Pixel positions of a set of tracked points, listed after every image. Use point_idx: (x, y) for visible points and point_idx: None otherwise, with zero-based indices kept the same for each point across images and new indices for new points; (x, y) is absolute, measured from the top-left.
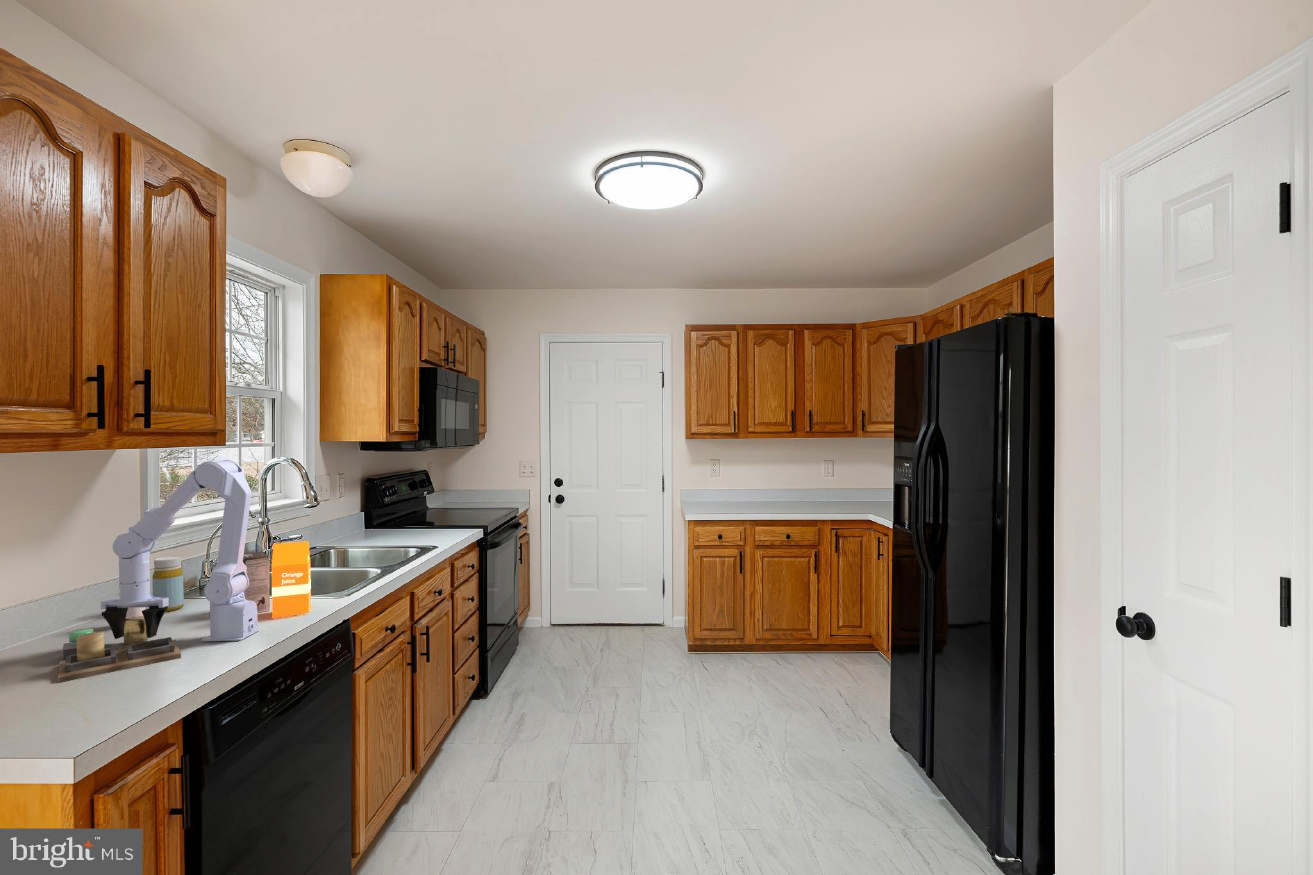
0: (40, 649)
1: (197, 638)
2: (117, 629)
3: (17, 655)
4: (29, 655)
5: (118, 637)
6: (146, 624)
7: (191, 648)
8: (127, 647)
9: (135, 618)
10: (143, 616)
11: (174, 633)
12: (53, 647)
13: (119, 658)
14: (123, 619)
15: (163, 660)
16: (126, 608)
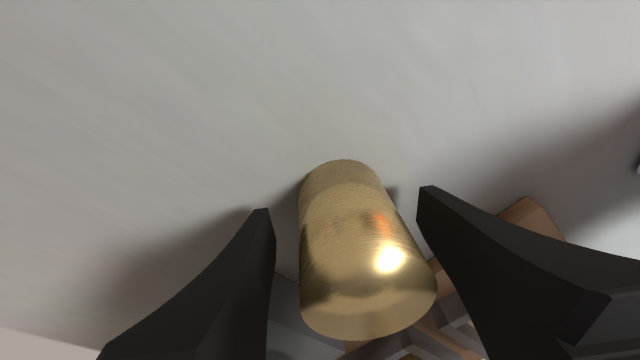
0: (7, 284)
1: (602, 124)
2: (269, 274)
3: (27, 325)
4: (73, 321)
5: (273, 237)
6: (460, 288)
7: (604, 229)
8: (458, 341)
9: (369, 301)
10: (392, 264)
11: (436, 38)
12: (24, 265)
13: (446, 338)
14: (247, 283)
15: None
16: (212, 353)
